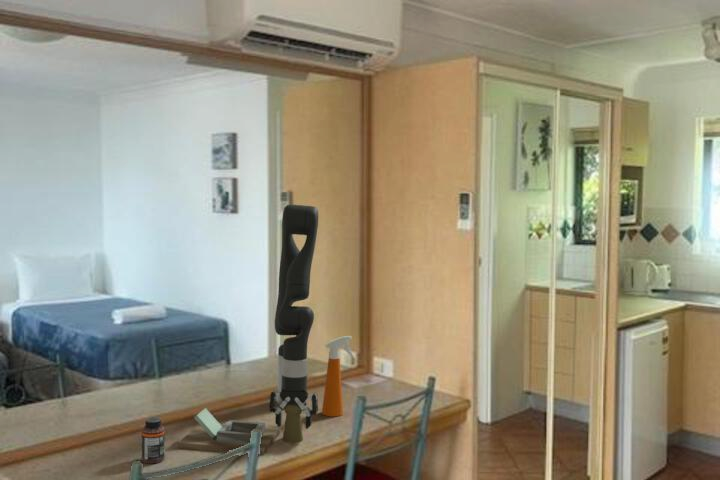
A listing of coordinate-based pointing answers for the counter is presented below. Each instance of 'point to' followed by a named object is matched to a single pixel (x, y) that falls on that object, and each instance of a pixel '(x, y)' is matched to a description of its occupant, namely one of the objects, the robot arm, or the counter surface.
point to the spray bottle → (334, 378)
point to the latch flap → (208, 423)
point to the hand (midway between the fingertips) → (293, 426)
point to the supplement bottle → (153, 441)
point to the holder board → (229, 437)
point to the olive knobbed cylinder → (293, 424)
